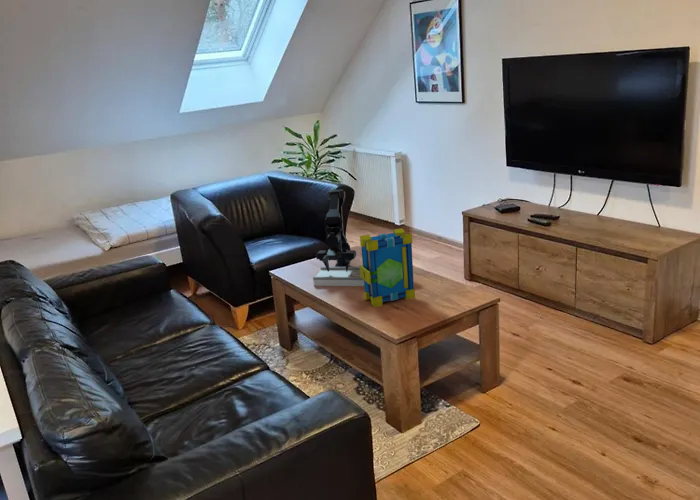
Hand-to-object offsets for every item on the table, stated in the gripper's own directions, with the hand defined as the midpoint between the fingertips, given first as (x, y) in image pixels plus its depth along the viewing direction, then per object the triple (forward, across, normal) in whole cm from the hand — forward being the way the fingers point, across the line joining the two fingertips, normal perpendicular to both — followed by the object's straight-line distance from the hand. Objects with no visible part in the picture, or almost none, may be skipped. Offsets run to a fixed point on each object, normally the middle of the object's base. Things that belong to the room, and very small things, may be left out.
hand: (337, 271), depth 309 cm
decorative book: (+5, +29, -23) cm, 38 cm away
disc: (+5, +12, 0) cm, 13 cm away
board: (+5, +5, 0) cm, 7 cm away
